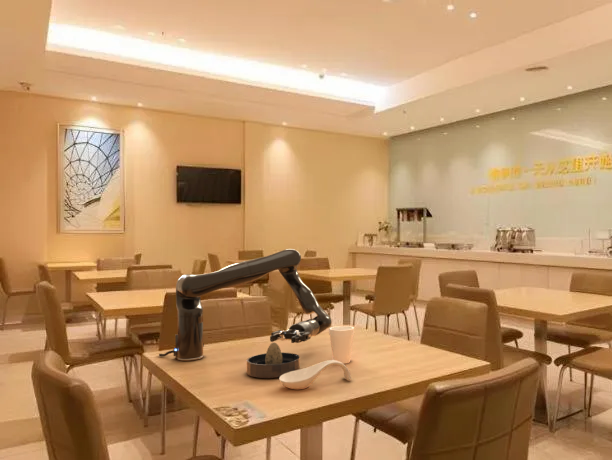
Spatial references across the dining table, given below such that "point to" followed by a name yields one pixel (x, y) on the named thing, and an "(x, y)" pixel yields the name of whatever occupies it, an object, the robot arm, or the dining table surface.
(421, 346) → the dining table surface
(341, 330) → the foam cup
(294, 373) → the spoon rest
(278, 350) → the decorative egg
